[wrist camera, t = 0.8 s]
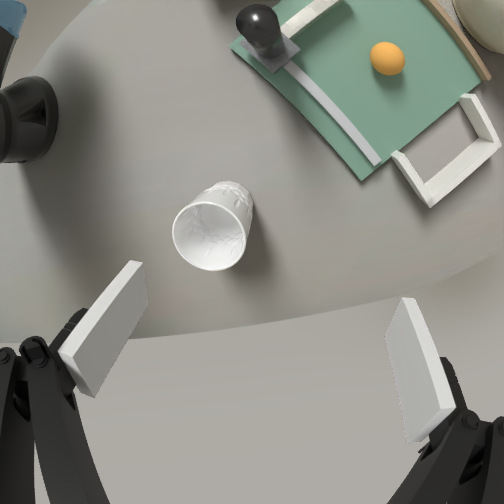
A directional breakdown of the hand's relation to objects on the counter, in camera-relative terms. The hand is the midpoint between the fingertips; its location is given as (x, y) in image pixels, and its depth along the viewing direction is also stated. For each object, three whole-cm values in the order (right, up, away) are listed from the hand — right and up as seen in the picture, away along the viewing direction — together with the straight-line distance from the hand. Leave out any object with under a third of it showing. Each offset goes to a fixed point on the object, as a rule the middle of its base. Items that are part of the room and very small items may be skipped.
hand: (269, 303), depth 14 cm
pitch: (+13, +26, +12) cm, 31 cm away
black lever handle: (+5, +27, +11) cm, 30 cm away
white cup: (-4, +9, +25) cm, 27 cm away
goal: (+23, +16, +16) cm, 33 cm away
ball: (+14, +23, +10) cm, 29 cm away
